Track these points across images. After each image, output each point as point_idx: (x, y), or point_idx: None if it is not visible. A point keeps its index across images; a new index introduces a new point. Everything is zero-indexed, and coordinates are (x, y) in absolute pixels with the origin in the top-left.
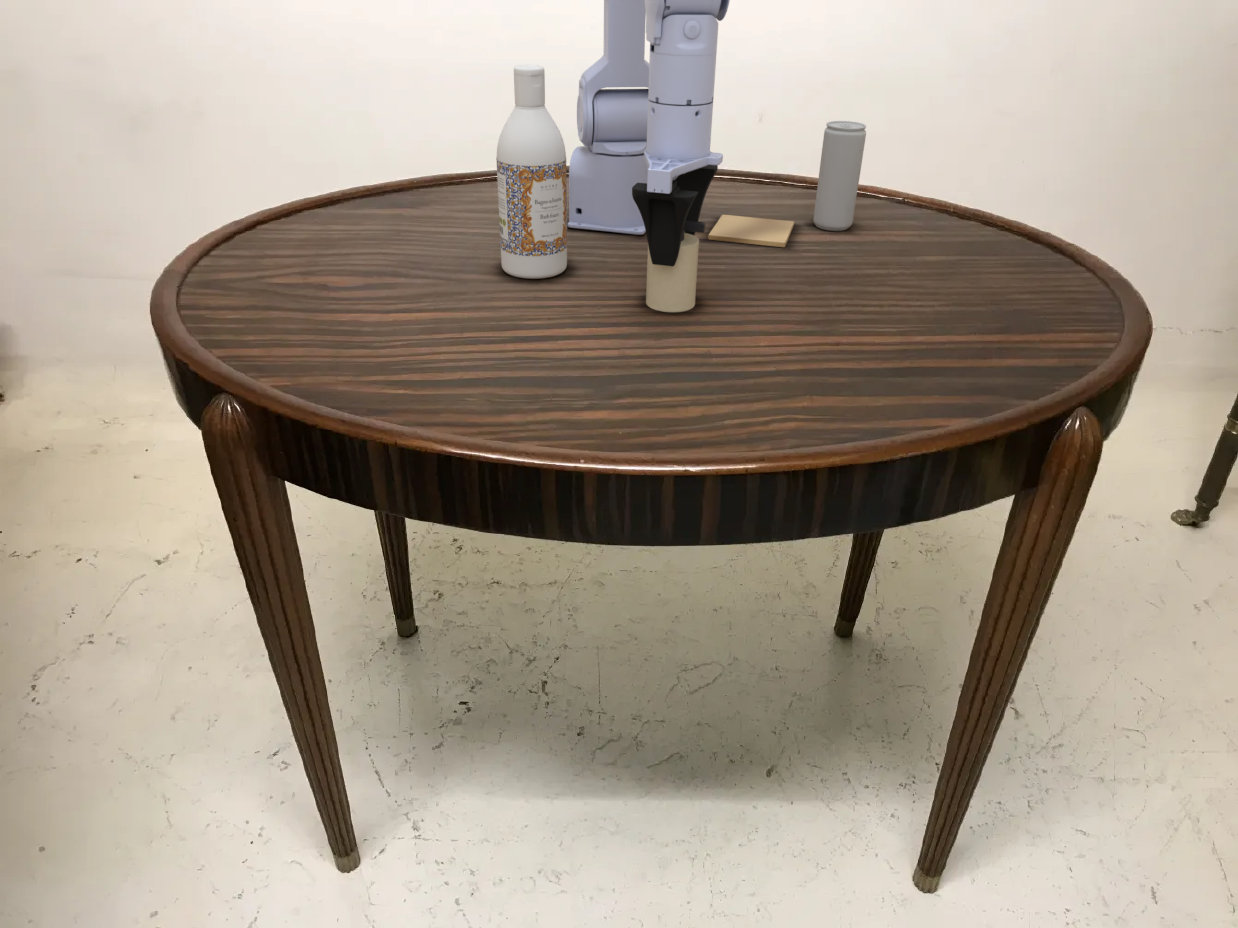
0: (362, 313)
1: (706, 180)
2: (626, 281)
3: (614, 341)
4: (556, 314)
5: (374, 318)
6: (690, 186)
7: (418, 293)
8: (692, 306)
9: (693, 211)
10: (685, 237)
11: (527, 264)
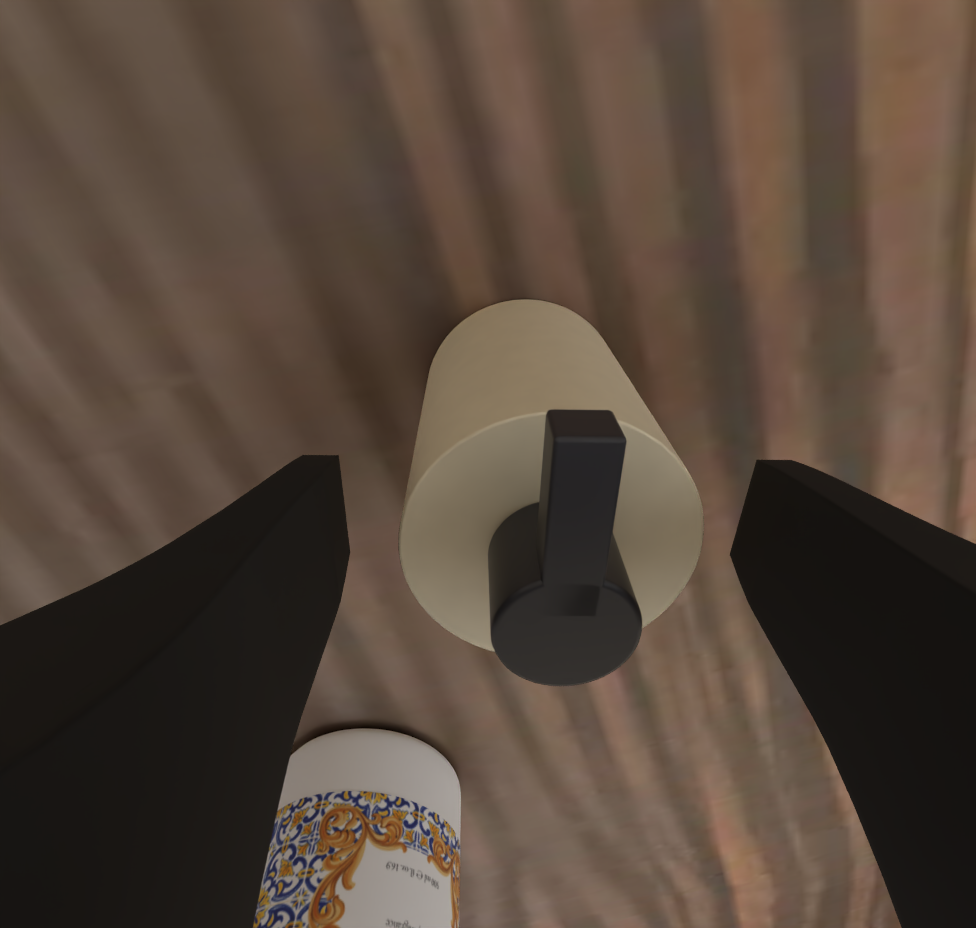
0: (735, 912)
1: (108, 747)
2: (353, 571)
3: (893, 485)
4: (689, 661)
5: (758, 894)
6: (200, 783)
7: (609, 886)
8: (552, 304)
9: (272, 572)
10: (498, 500)
11: (459, 815)
